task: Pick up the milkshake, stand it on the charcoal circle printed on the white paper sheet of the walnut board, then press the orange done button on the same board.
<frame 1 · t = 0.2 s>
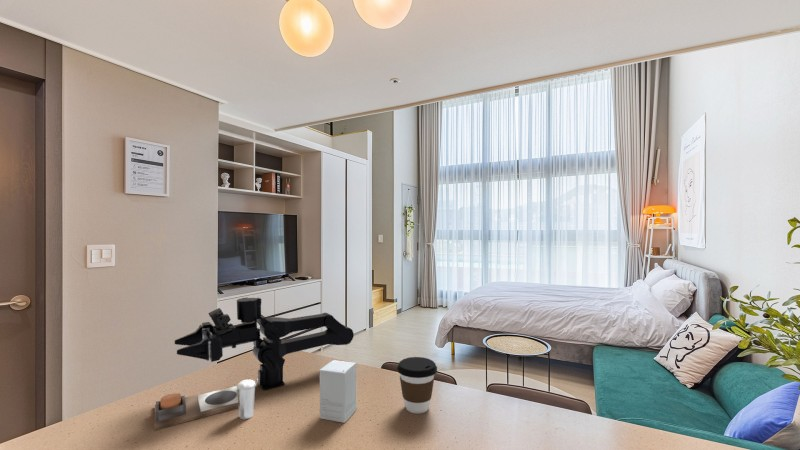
hand: (175, 347, 96), 16 cm above the kitchen counter, tool horizontal, fingers open, 9 cm apart
board: (203, 405, 97), on the kitchen counter
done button: (170, 403, 92), point 3 cm above the kitchen counter, slide at 0.0 cm
milkshake: (247, 417, 92), on the kitchen counter
coffee cup: (417, 408, 96), on the kitchen counter
supplement box: (338, 414, 93), on the kitchen counter
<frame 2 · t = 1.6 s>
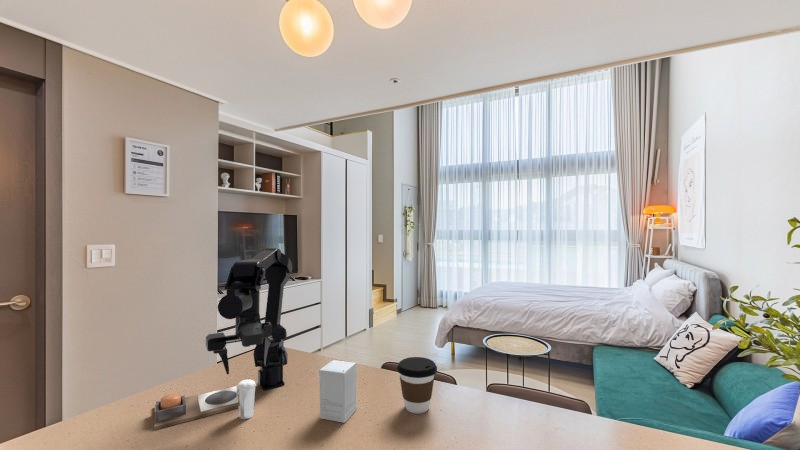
hand: (247, 370, 92), 12 cm above the kitchen counter, tool pointing down, fingers open, 9 cm apart
nothing on the kitchen counter moved.
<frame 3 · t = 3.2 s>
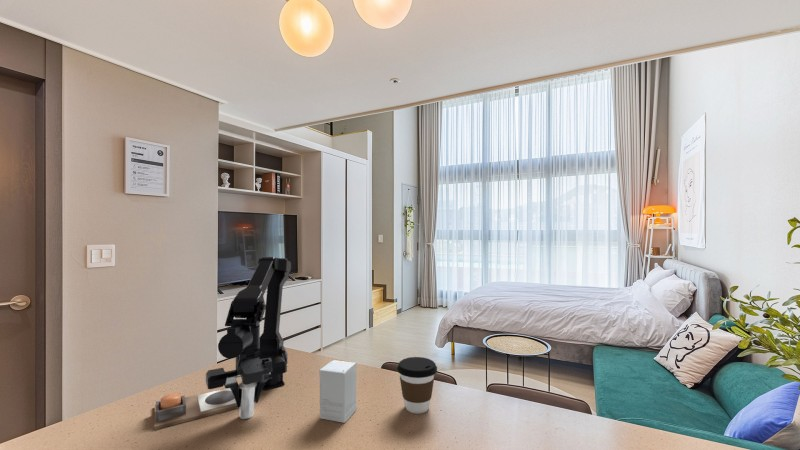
hand: (247, 404, 92), 3 cm above the kitchen counter, tool pointing down, fingers closed on milkshake, 4 cm apart
milkshake: (247, 417, 92), on the kitchen counter, touching gripper
everything else where it was.
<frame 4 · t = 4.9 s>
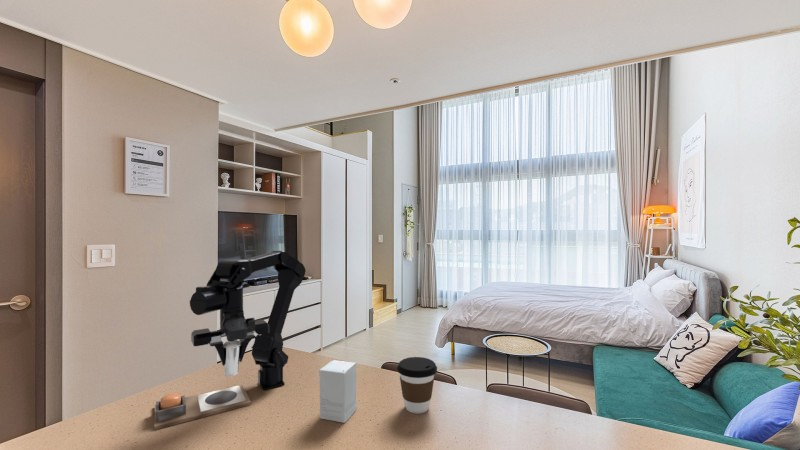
hand: (232, 363, 97), 12 cm above the kitchen counter, tool pointing down, fingers closed on milkshake, 4 cm apart
milkshake: (232, 375, 97), point 9 cm above the kitchen counter, touching gripper
everything else where it was.
when the fingers open (5 cm above the kitchen counter, at t = 6.8 s): milkshake drops 1 cm, resting on board.
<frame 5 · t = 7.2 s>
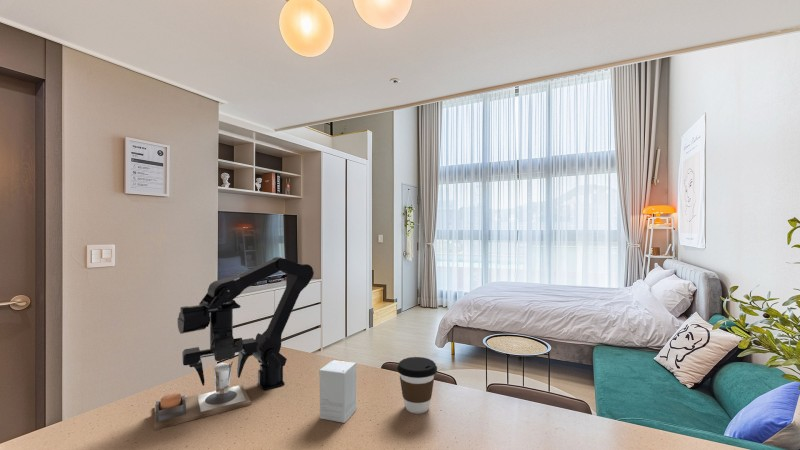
hand: (221, 381, 100), 5 cm above the kitchen counter, tool pointing down, fingers open, 9 cm apart
milkshake: (223, 397, 100), point 1 cm above the kitchen counter, touching board
everything else where it was.
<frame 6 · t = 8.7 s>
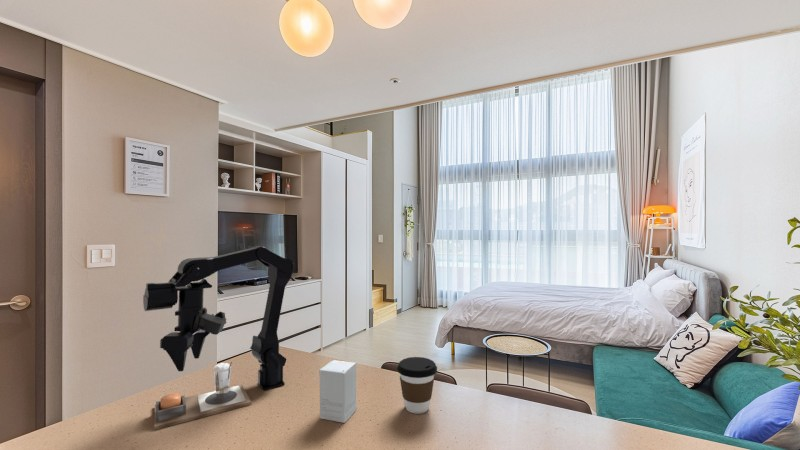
hand: (189, 364, 95), 12 cm above the kitchen counter, tool pointing down, fingers open, 9 cm apart
nothing on the kitchen counter moved.
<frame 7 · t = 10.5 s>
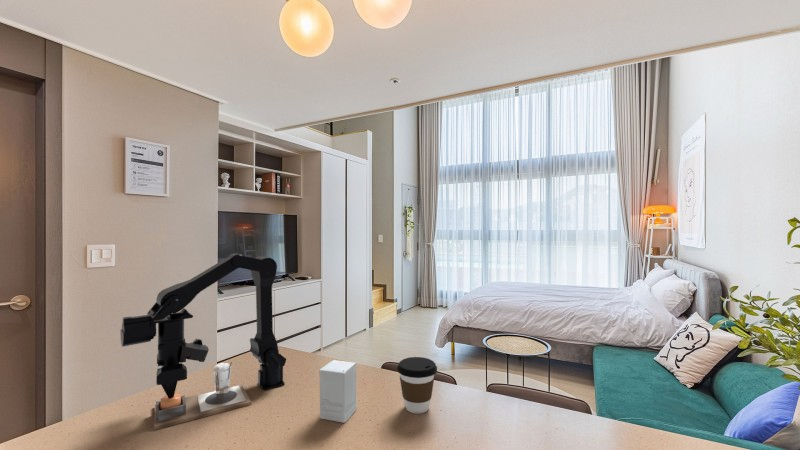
hand: (171, 397, 92), 5 cm above the kitchen counter, tool pointing down, fingers closed, pressing on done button
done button: (170, 403, 92), point 3 cm above the kitchen counter, slide at 0.1 cm, touching gripper
everything else where it was.
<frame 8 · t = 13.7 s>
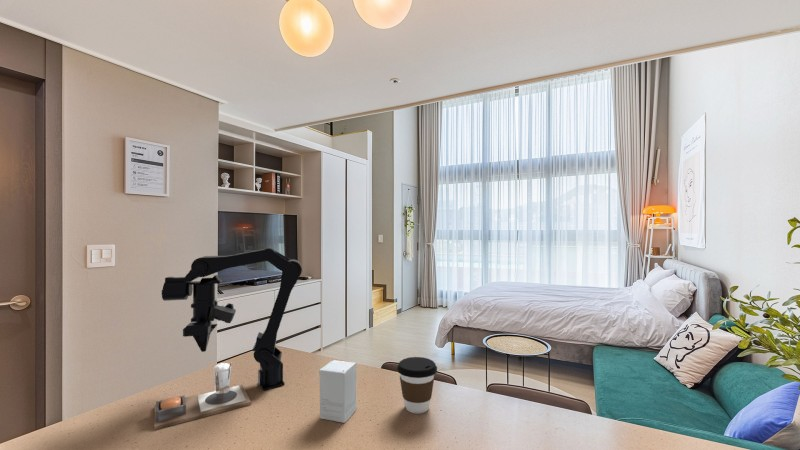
hand: (203, 351, 106), 12 cm above the kitchen counter, tool pointing down, fingers closed
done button: (170, 406, 92), point 2 cm above the kitchen counter, slide at 1.0 cm, touching board
everything else where it was.
at the end: milkshake 0.5 cm from the target spot, point 0.8 cm above the kitchen counter; milkshake tilted 0°; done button slide at 1.0 cm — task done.
